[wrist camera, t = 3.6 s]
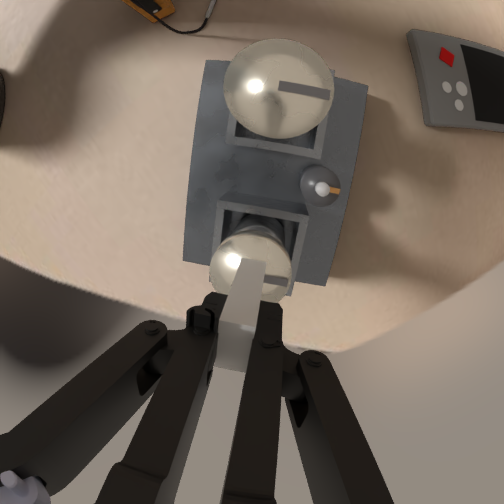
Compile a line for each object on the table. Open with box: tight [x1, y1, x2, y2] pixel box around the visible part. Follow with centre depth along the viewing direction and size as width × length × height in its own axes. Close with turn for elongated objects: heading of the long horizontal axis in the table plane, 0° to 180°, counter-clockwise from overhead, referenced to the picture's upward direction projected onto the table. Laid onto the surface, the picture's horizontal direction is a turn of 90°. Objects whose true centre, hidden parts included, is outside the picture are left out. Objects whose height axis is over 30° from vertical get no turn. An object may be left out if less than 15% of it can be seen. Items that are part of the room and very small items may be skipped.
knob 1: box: [223, 38, 334, 139], centre depth 15 cm, size 5×5×7 cm
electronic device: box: [406, 29, 504, 132], centre depth 19 cm, size 10×2×15 cm
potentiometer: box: [299, 165, 341, 207], centre depth 22 cm, size 3×3×4 cm
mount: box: [183, 60, 368, 296], centre depth 23 cm, size 14×19×7 cm
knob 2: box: [209, 214, 292, 303], centre depth 21 cm, size 5×5×7 cm
